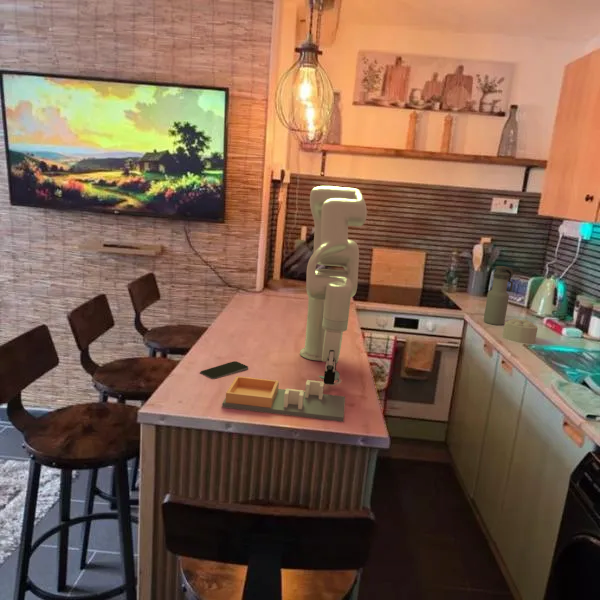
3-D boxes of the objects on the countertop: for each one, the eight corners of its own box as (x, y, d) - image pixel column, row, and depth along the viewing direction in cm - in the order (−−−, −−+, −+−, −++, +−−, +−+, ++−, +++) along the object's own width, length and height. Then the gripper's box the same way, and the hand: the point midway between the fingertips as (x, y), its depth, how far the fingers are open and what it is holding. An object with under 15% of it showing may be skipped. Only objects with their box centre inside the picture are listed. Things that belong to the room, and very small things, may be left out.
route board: (234, 387, 155) (235, 371, 154) (344, 400, 152) (346, 383, 151) (222, 407, 142) (223, 389, 140) (343, 421, 139) (345, 403, 138)
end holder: (236, 384, 154) (236, 376, 154) (278, 389, 153) (278, 380, 152) (225, 402, 142) (226, 392, 141) (271, 407, 141) (271, 398, 140)
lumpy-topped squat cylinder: (509, 334, 238) (513, 315, 236) (538, 341, 230) (542, 322, 228) (500, 337, 231) (503, 318, 229) (529, 345, 222) (533, 326, 220)
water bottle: (495, 319, 262) (505, 265, 256) (509, 325, 254) (519, 268, 247) (479, 320, 259) (488, 264, 253) (491, 325, 250) (501, 268, 244)
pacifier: (345, 383, 160) (331, 375, 164) (348, 364, 158) (333, 357, 162) (329, 388, 155) (315, 381, 159) (331, 369, 153) (317, 362, 157)
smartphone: (198, 371, 165) (235, 360, 175) (198, 374, 165) (235, 363, 176) (212, 378, 160) (249, 367, 170) (212, 382, 160) (249, 370, 171)
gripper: (324, 313, 164) (319, 366, 169) (320, 331, 147) (314, 389, 152) (348, 316, 163) (342, 369, 168) (346, 334, 146) (340, 392, 151)
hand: (329, 378), depth 160 cm, fingers closed on pacifier, 6 cm apart
